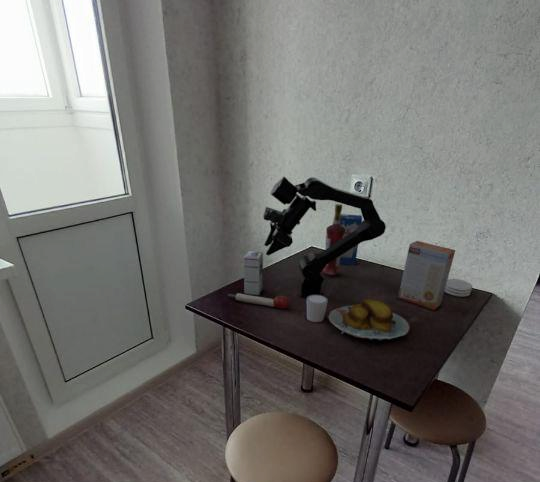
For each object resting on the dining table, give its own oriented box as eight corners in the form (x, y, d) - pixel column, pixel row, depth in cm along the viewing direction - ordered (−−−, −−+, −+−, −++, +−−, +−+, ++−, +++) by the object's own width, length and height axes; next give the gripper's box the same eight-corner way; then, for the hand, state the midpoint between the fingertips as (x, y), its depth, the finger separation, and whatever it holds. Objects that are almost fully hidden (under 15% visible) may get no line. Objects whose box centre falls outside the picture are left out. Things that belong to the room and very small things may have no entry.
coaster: (462, 299, 150) (465, 291, 148) (437, 290, 157) (440, 282, 155) (474, 293, 156) (477, 284, 154) (450, 284, 162) (452, 276, 161)
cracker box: (440, 305, 145) (456, 249, 135) (433, 311, 141) (449, 253, 131) (404, 293, 153) (417, 239, 143) (397, 298, 149) (409, 243, 139)
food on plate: (312, 325, 129) (314, 307, 126) (355, 302, 145) (357, 285, 142) (382, 358, 114) (387, 338, 111) (422, 328, 130) (426, 310, 127)
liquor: (321, 270, 171) (329, 202, 156) (339, 271, 170) (348, 203, 156) (321, 276, 164) (329, 206, 150) (339, 278, 164) (348, 207, 149)
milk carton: (332, 263, 178) (337, 217, 168) (332, 258, 184) (338, 213, 174) (355, 265, 177) (362, 219, 167) (355, 260, 183) (361, 215, 172)
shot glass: (327, 315, 136) (329, 296, 132) (323, 324, 130) (325, 305, 127) (307, 311, 138) (309, 293, 134) (302, 320, 132) (304, 301, 128)
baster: (290, 306, 140) (291, 295, 138) (287, 311, 137) (288, 300, 135) (231, 296, 146) (231, 285, 144) (226, 301, 142) (226, 290, 140)
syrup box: (259, 295, 147) (260, 257, 140) (243, 293, 148) (243, 255, 140) (262, 289, 152) (263, 252, 144) (247, 287, 153) (247, 250, 145)
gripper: (273, 191, 138) (246, 228, 144) (277, 205, 122) (247, 245, 128) (298, 211, 142) (271, 246, 148) (305, 226, 126) (275, 265, 132)
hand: (266, 250), depth 139 cm, fingers open, 9 cm apart
